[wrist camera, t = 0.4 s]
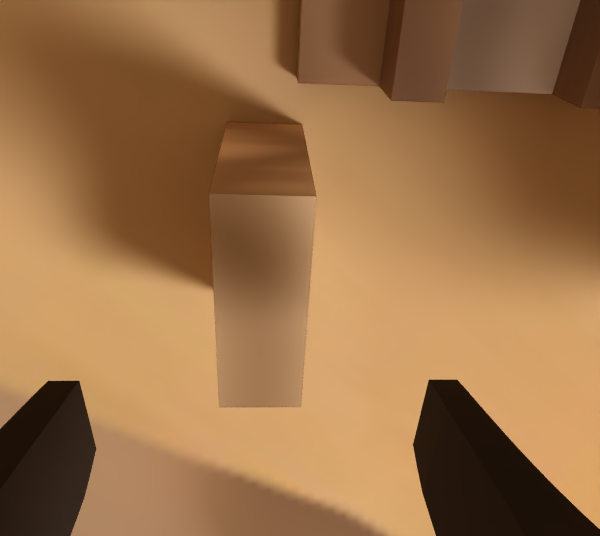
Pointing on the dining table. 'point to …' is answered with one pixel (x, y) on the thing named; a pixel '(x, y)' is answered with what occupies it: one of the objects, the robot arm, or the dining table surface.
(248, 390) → the brown wooden block
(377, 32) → the walnut sill track
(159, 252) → the dining table surface
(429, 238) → the dining table surface
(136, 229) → the dining table surface
